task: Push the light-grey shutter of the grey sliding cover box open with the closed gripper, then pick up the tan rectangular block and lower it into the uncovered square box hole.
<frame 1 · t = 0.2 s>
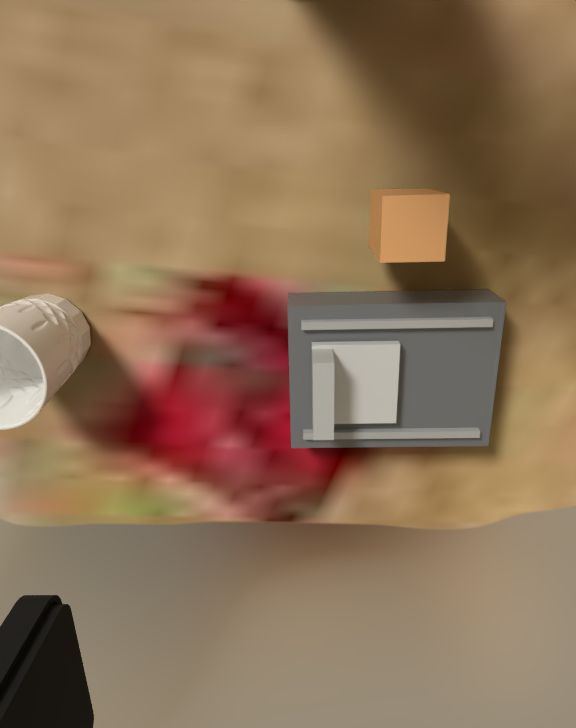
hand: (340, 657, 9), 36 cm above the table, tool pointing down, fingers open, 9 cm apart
grey sliding cover box: (385, 360, 46), on the table
white cup: (53, 331, 46), on the table
tan rectangular block: (391, 214, 41), on the table
shutter: (356, 391, 40), point 6 cm above the table, slide at 0.0 cm
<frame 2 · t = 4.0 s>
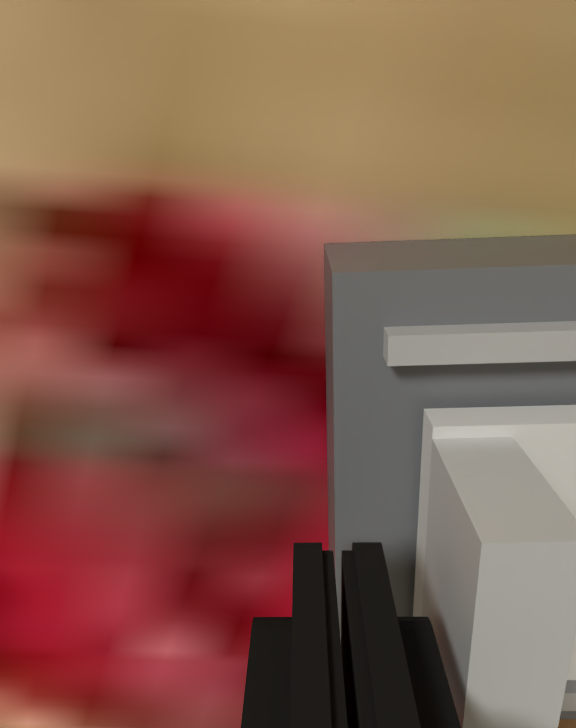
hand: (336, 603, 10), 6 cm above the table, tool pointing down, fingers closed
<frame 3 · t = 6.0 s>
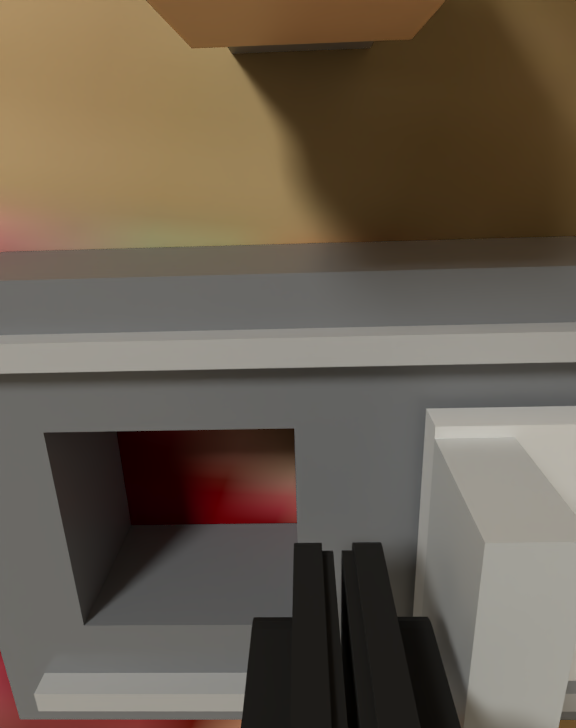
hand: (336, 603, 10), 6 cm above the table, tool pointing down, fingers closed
grey sliding cover box: (308, 447, 16), on the table
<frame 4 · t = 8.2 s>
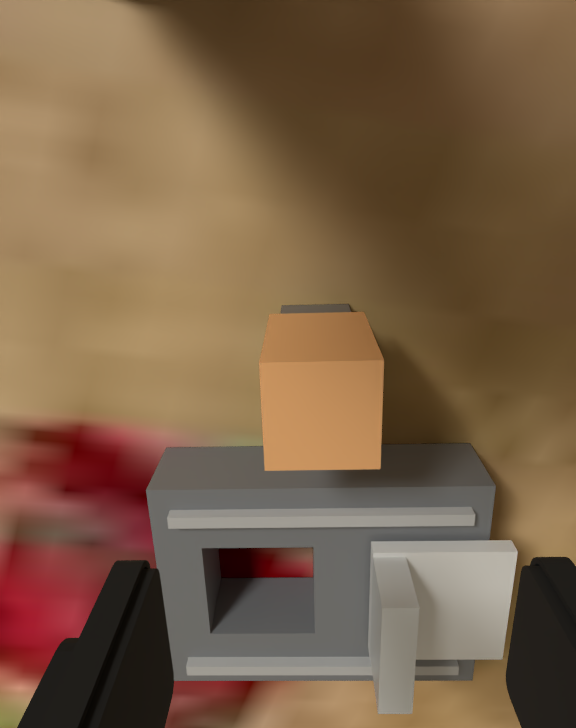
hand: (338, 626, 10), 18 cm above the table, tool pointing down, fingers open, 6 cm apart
grey sliding cover box: (318, 539, 31), on the table
tan rectangular block: (315, 336, 26), on the table
shutter: (446, 627, 25), point 6 cm above the table, slide at 8.6 cm
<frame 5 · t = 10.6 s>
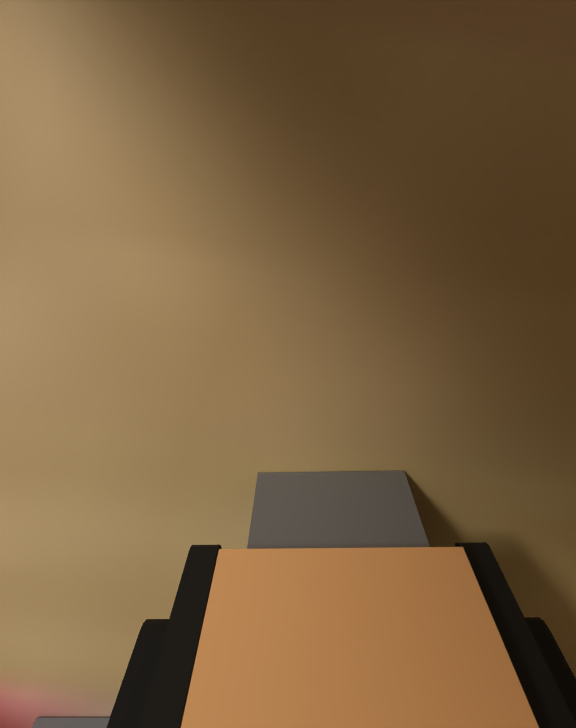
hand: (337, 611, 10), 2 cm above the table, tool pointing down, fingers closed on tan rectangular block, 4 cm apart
tan rectangular block: (331, 532, 12), on the table, touching gripper
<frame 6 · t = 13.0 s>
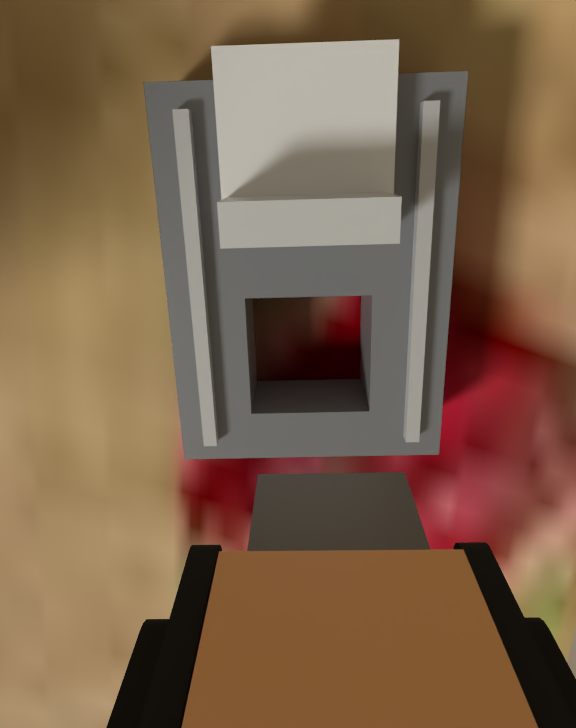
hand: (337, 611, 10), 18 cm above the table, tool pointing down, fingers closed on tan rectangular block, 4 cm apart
grey sliding cover box: (306, 272, 27), on the table
tan rectangular block: (331, 534, 12), point 16 cm above the table, touching gripper
shutter: (306, 143, 19), point 6 cm above the table, slide at 8.6 cm
when the fingers open (5 cm above the table, at t = 15.3 s): tan rectangular block drops 2 cm, resting in grey sliding cover box.
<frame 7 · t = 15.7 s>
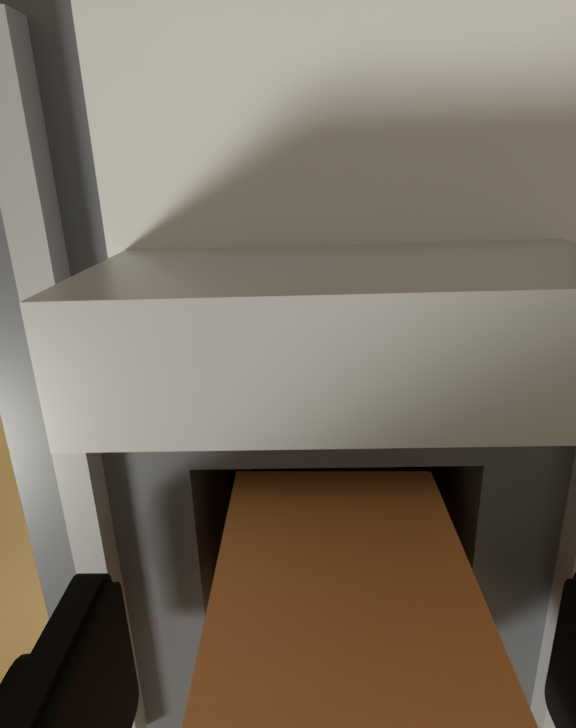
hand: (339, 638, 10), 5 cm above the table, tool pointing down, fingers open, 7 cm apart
grey sliding cover box: (326, 373, 14), on the table
tan rectangular block: (326, 476, 15), resting in grey sliding cover box
shutter: (347, 93, 6), point 6 cm above the table, slide at 8.6 cm
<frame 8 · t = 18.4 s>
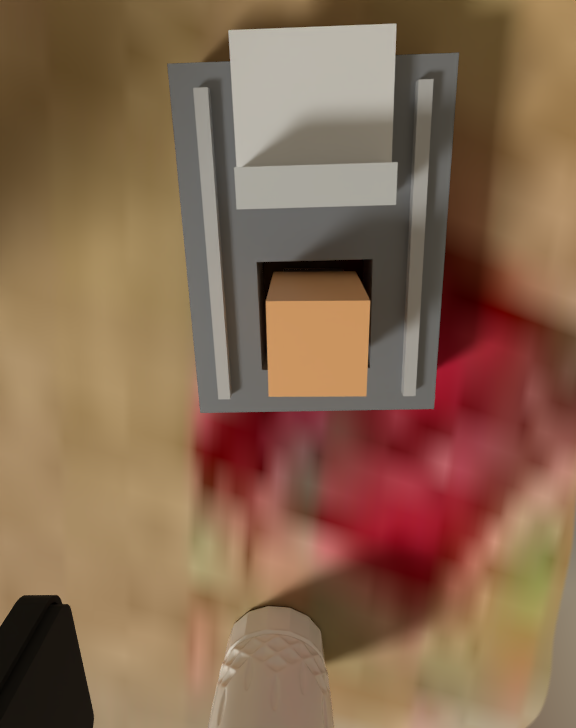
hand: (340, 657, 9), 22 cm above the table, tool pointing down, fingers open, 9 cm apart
grey sliding cover box: (312, 242, 29), on the table
white cup: (276, 638, 39), on the table
tan rectangular block: (313, 297, 30), resting in grey sliding cover box
shutter: (313, 116, 21), point 6 cm above the table, slide at 8.6 cm
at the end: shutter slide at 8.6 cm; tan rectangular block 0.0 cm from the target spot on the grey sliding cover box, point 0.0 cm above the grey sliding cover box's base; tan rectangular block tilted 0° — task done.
